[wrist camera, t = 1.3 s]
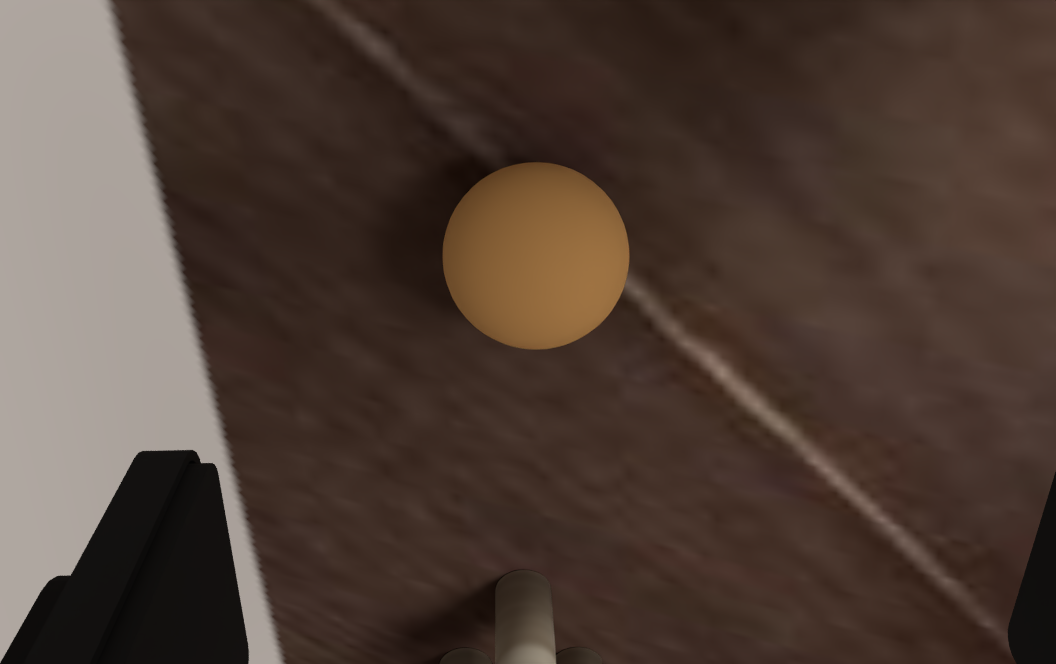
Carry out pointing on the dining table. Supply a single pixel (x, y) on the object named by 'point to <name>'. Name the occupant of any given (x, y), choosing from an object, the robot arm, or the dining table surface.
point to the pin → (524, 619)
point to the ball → (535, 255)
